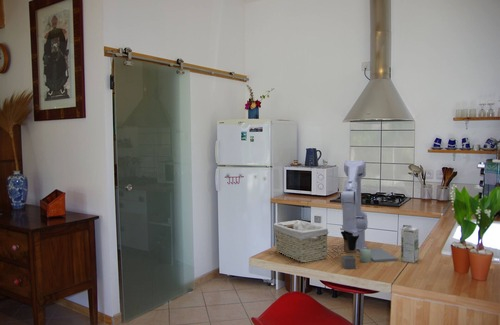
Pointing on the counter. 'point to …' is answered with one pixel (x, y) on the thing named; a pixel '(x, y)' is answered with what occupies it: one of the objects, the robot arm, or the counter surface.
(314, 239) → the storage basket
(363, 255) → the sage cylinder
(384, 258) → the slate mat
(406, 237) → the syrup box
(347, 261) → the charcoal cube
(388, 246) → the counter surface
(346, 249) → the walnut block
